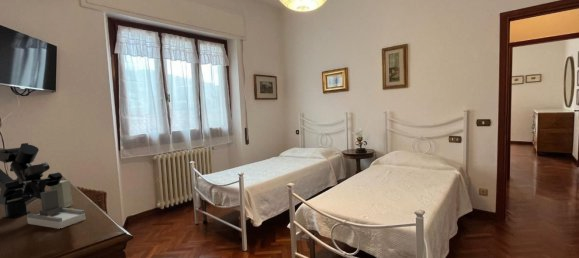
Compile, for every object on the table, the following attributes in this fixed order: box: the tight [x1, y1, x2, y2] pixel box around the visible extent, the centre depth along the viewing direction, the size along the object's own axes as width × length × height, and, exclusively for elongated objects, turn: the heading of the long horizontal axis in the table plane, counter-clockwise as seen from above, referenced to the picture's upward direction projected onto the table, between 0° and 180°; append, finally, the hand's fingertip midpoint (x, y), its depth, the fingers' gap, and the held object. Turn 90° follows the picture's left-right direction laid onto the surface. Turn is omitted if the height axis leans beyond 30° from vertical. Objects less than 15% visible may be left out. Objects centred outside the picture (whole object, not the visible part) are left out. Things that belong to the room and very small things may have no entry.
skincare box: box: [49, 179, 74, 208], centre depth 127 cm, size 6×4×12 cm
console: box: [26, 207, 86, 230], centre depth 109 cm, size 20×9×4 cm, turn 69°
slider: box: [39, 189, 62, 216], centre depth 109 cm, size 5×5×9 cm
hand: (43, 198), depth 111 cm, fingers closed
